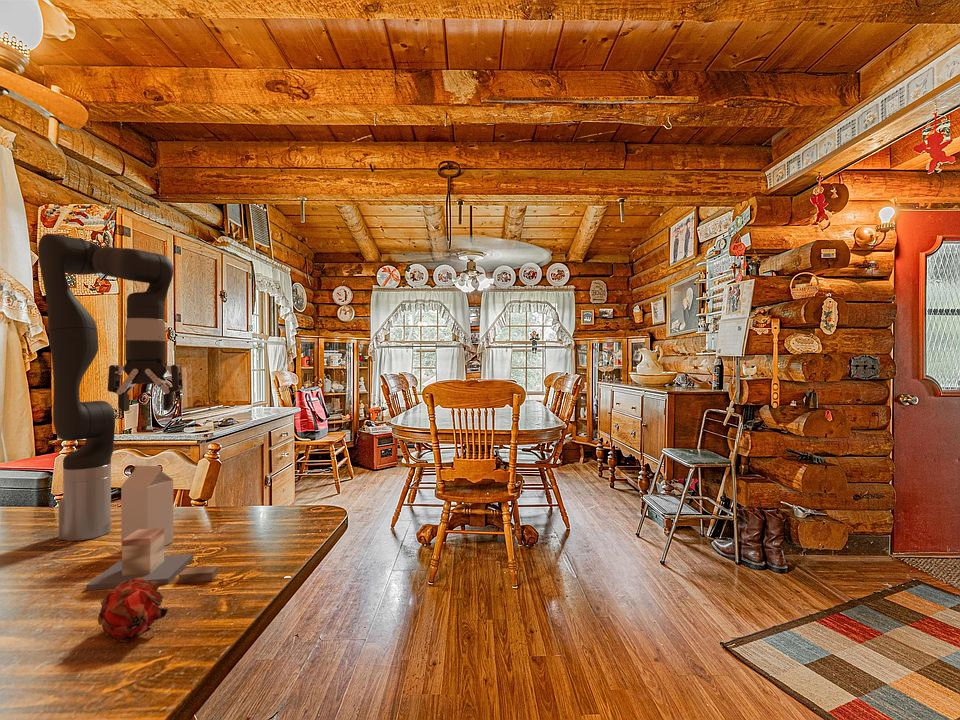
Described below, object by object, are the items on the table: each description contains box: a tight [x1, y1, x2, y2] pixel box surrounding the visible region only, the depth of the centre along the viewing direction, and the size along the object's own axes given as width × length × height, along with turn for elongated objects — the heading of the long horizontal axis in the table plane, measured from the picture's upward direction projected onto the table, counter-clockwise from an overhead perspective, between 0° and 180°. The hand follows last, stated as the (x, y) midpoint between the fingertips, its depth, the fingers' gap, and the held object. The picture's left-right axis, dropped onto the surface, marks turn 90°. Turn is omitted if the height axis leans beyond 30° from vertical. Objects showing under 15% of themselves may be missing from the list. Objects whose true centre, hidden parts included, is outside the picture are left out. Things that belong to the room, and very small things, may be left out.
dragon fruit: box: [97, 577, 169, 643], centre depth 76 cm, size 8×8×12 cm
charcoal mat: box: [85, 553, 194, 591], centre depth 97 cm, size 14×12×1 cm
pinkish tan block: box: [121, 528, 165, 576], centre depth 97 cm, size 5×8×9 cm, turn 11°
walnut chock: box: [178, 565, 219, 584], centre depth 94 cm, size 6×3×2 cm, turn 101°
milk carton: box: [120, 464, 174, 551], centre depth 110 cm, size 7×7×19 cm
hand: (146, 410), depth 108 cm, fingers open, 8 cm apart
